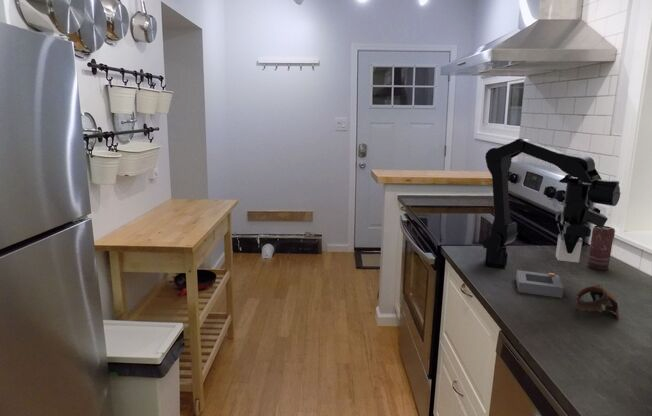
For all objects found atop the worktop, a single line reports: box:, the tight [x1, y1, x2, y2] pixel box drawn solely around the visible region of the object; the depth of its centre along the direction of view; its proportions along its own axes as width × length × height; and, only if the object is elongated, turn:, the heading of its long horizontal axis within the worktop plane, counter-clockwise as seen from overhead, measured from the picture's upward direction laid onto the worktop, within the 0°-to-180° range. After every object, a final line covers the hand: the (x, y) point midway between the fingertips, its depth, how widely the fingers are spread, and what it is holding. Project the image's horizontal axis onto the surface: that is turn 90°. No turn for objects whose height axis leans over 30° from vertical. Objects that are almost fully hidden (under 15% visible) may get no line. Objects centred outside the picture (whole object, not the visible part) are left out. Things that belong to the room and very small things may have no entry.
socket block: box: [515, 269, 565, 299], centre depth 135 cm, size 12×10×4 cm
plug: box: [555, 233, 583, 263], centre depth 135 cm, size 6×4×7 cm
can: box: [587, 225, 616, 271], centre depth 152 cm, size 6×6×14 cm
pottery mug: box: [575, 284, 620, 320], centre depth 120 cm, size 12×10×8 cm
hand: (568, 250), depth 135 cm, fingers closed on plug, 4 cm apart
